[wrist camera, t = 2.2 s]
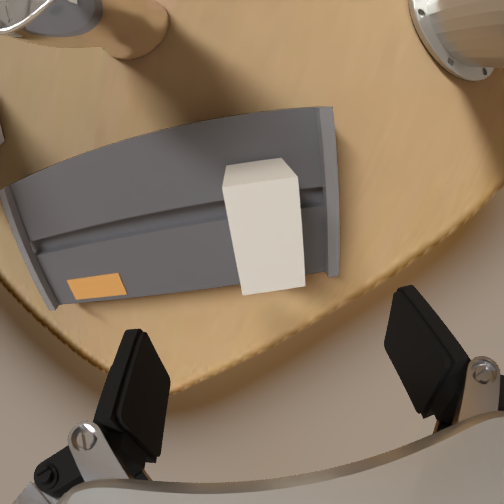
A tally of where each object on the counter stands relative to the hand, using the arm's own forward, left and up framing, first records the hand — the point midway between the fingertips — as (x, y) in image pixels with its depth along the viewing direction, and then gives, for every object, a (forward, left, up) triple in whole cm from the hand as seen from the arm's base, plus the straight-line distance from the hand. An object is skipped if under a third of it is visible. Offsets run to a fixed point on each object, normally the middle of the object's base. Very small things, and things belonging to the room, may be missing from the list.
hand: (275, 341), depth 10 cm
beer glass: (+8, -17, -17) cm, 25 cm away
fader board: (+9, 0, -17) cm, 19 cm away
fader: (0, 0, -15) cm, 15 cm away
